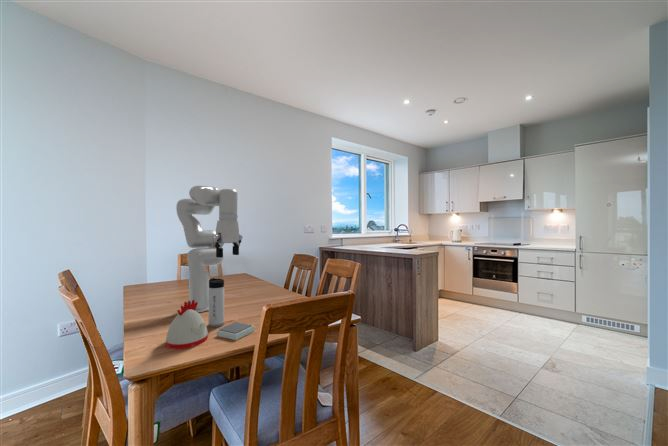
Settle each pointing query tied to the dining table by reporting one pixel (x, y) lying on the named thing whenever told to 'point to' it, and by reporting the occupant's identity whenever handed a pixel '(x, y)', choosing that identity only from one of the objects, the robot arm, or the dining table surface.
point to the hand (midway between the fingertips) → (227, 256)
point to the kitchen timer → (186, 328)
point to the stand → (235, 331)
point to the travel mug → (216, 302)
